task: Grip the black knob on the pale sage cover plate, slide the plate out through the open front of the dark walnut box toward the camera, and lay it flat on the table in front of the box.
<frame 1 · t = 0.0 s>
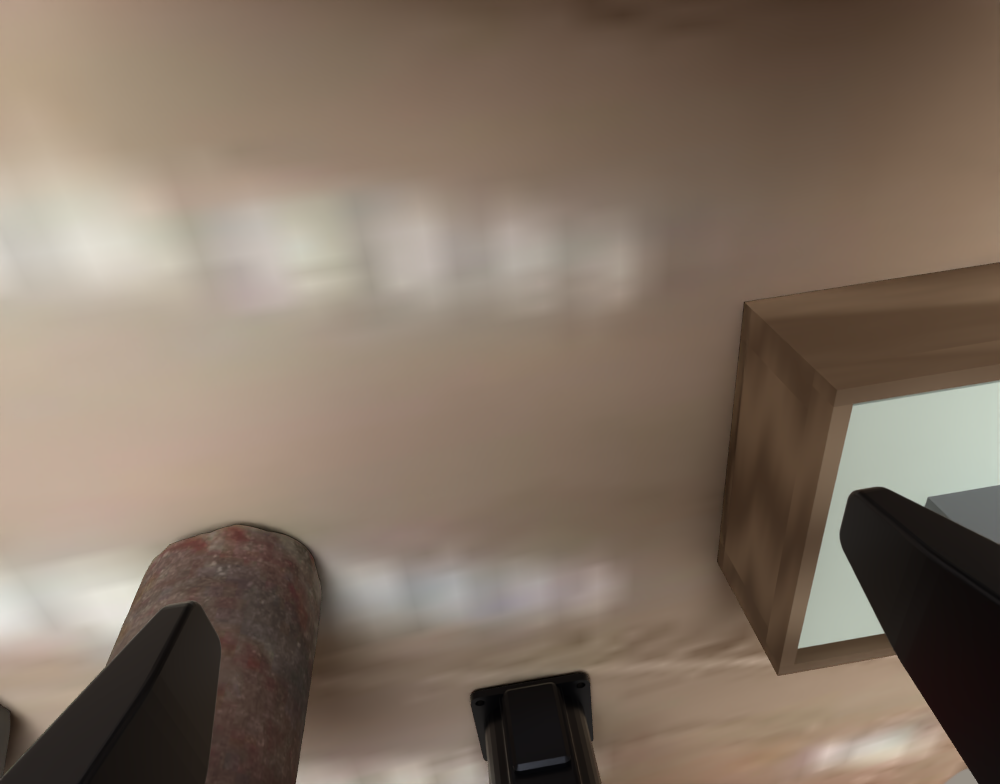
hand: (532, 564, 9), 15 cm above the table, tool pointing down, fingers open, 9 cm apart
cover plate: (942, 506, 24), point 5 cm above the table, touching walnut box
rusty brown cylinder: (241, 578, 29), on the table
walnut box: (852, 429, 28), on the table
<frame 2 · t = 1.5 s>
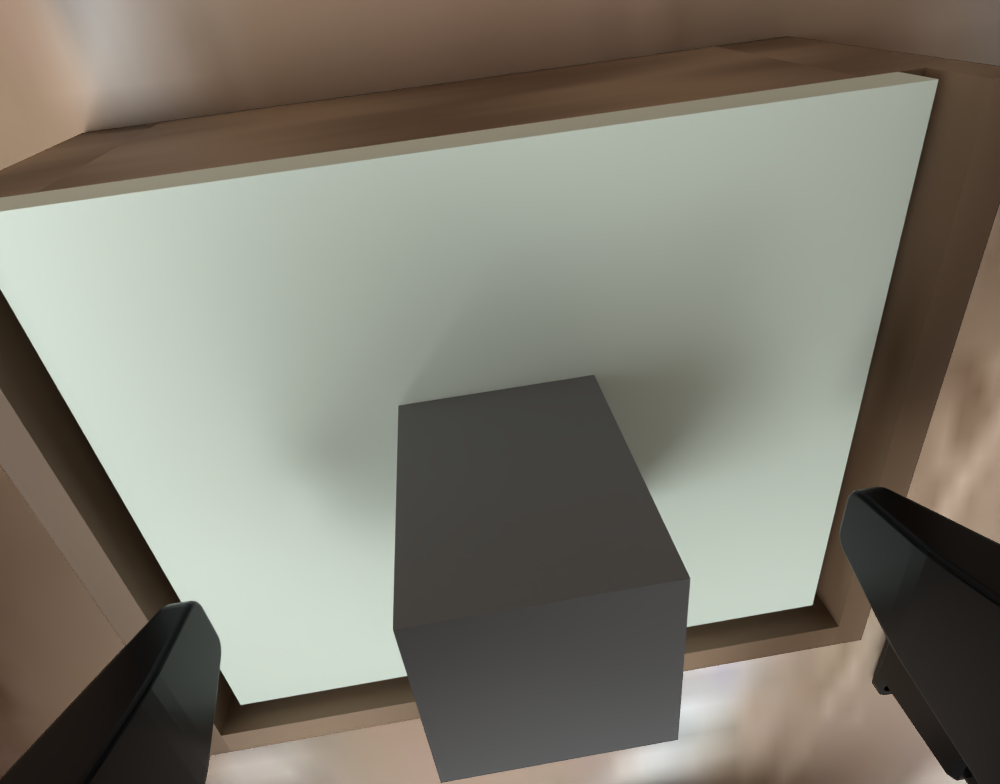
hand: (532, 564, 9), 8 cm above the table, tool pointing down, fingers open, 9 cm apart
cover plate: (501, 437, 11), point 5 cm above the table, touching walnut box
walnut box: (478, 330, 16), on the table
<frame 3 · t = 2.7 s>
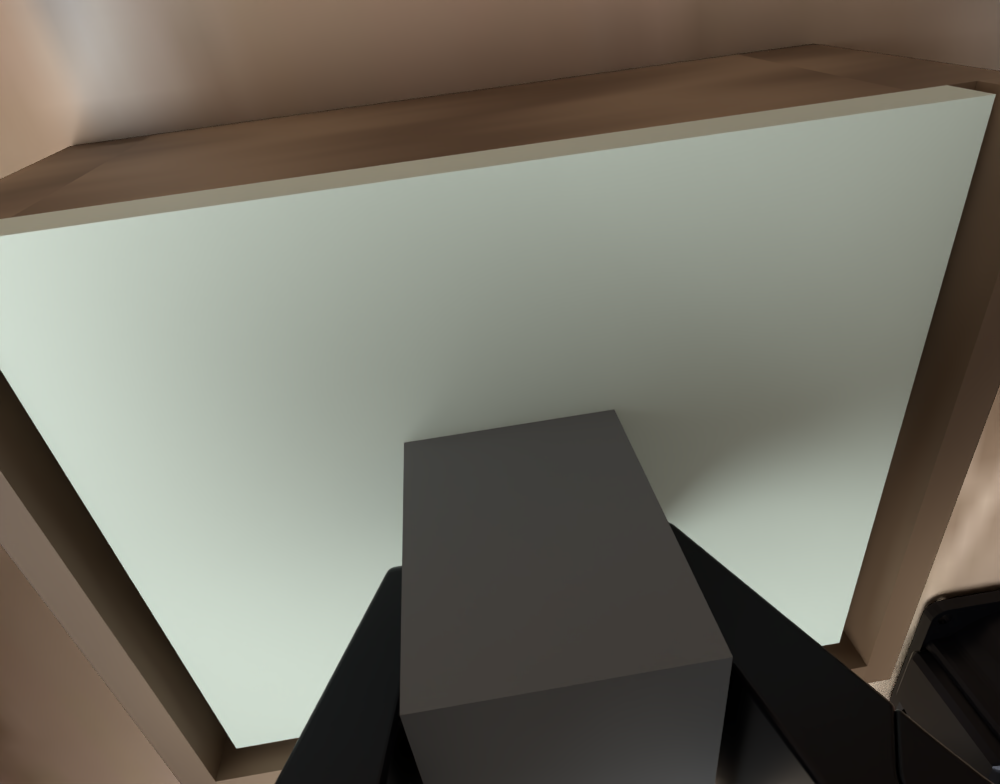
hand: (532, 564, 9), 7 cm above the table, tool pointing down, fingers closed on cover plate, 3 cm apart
cover plate: (512, 471, 11), point 5 cm above the table, touching gripper, walnut box
walnut box: (485, 349, 15), on the table
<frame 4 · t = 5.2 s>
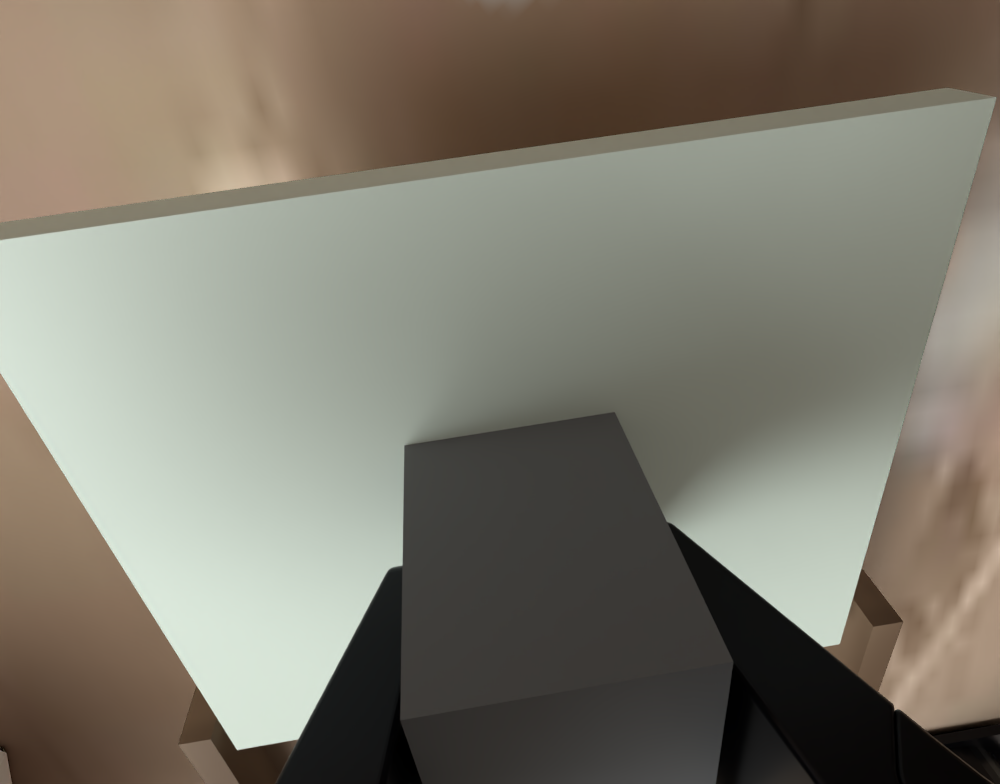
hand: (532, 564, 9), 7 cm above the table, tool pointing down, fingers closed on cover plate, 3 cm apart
cover plate: (513, 473, 11), point 5 cm above the table, touching gripper
walnut box: (525, 607, 20), on the table
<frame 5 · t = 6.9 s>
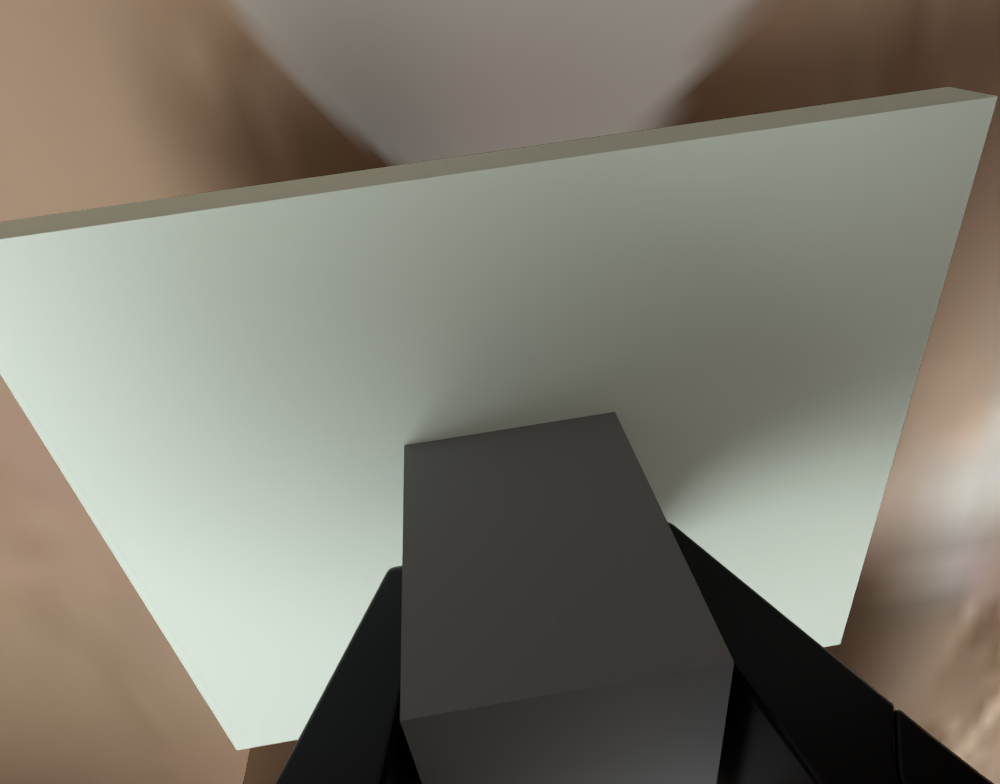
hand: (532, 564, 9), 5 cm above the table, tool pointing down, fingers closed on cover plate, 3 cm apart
cover plate: (513, 473, 11), point 3 cm above the table, touching gripper
walnut box: (543, 745, 20), on the table
when the fingers open (3 cm above the table, at t = 7.8 s): cover plate drops 2 cm, on the table.
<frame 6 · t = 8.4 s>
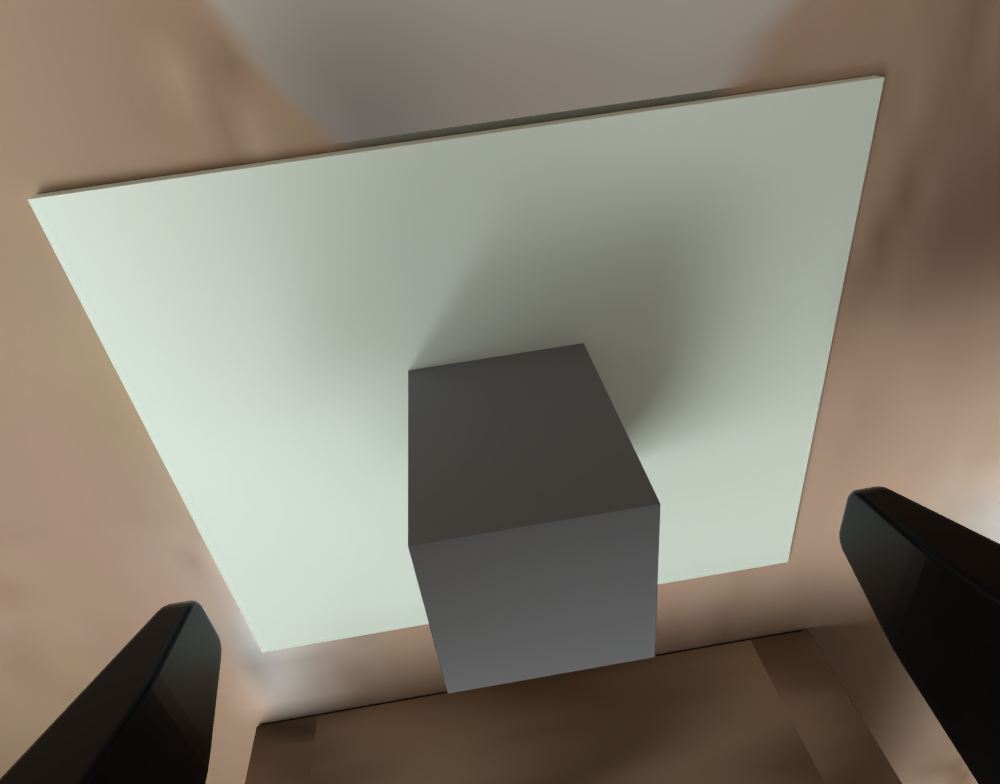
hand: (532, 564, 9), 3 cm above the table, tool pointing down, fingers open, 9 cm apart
cover plate: (500, 403, 12), on the table
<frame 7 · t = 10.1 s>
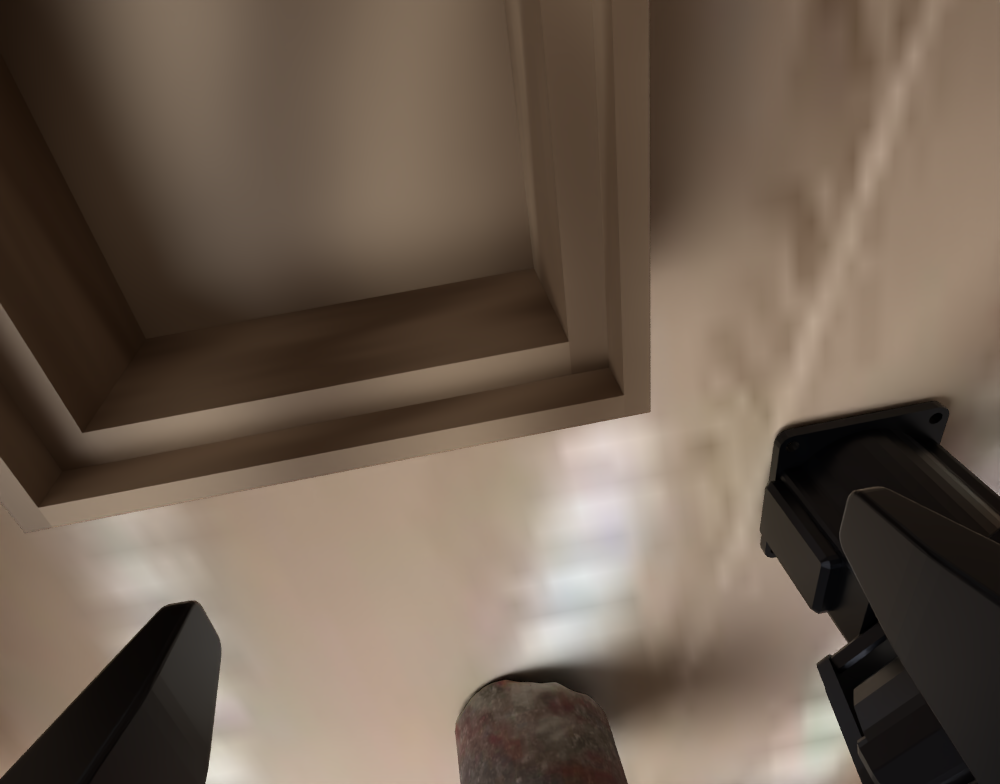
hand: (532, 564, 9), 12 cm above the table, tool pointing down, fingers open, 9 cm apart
rusty brown cylinder: (530, 708, 32), on the table
walnut box: (301, 151, 16), on the table
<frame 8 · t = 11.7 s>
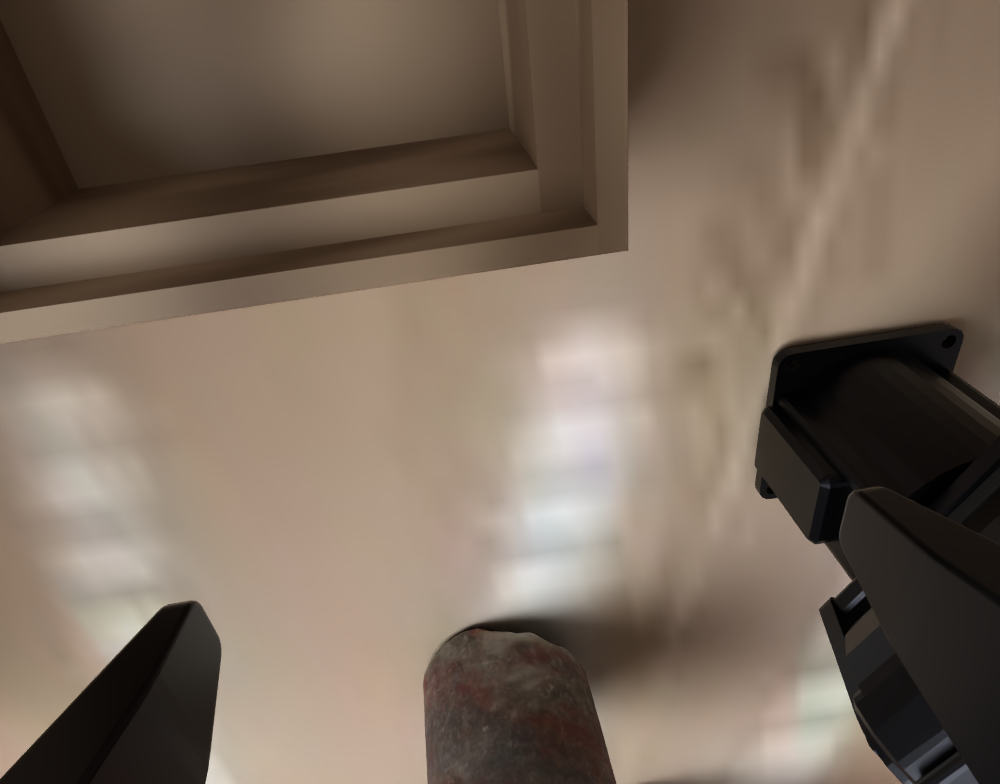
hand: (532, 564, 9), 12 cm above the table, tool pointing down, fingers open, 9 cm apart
rusty brown cylinder: (505, 665, 30), on the table
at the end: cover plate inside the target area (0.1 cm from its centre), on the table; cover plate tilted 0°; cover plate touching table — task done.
